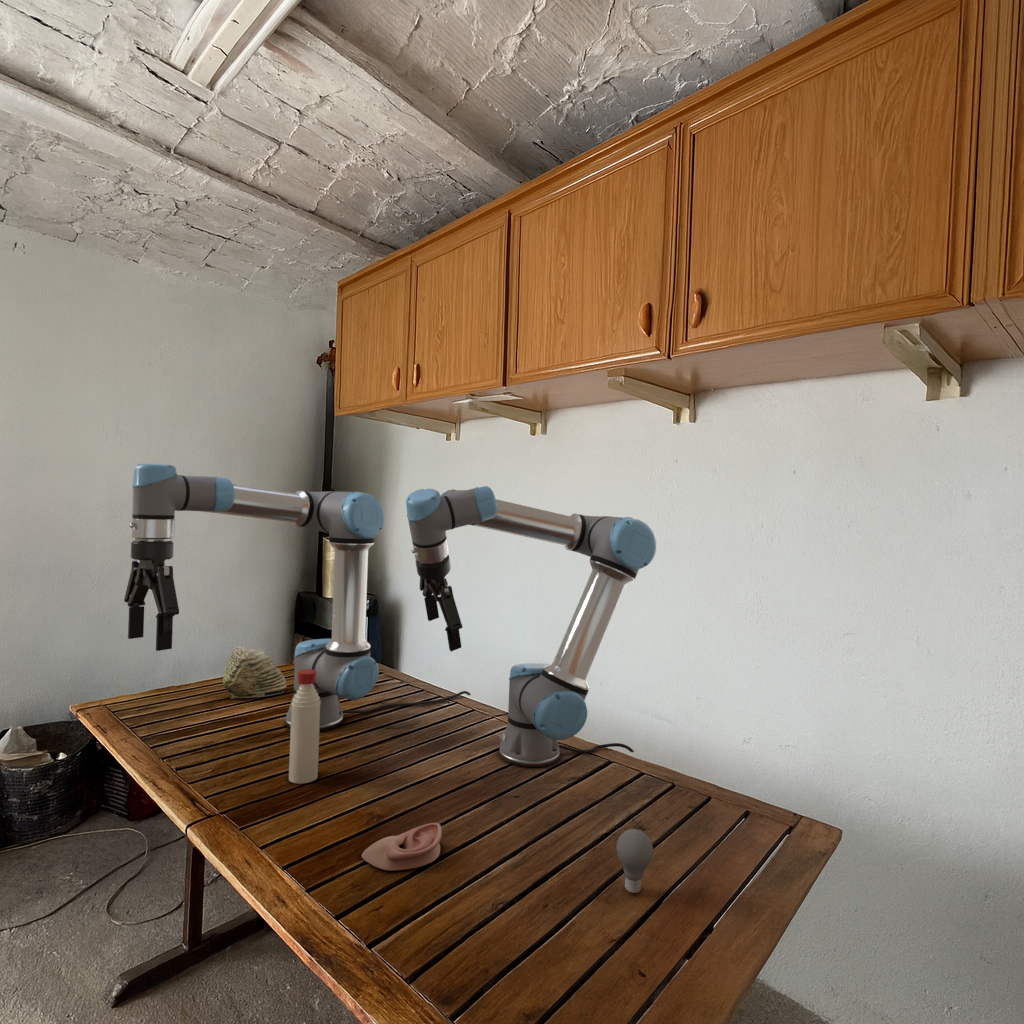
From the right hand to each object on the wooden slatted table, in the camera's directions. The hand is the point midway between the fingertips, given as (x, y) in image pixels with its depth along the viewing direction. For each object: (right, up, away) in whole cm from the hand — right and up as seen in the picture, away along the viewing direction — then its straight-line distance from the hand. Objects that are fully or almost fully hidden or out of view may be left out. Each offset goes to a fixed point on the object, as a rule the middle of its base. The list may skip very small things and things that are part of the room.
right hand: (444, 633), depth 150 cm
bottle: (-31, -31, -8) cm, 44 cm away
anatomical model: (-4, -33, -37) cm, 49 cm away
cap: (-30, -7, -8) cm, 32 cm away
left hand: (-58, +2, -21) cm, 62 cm away
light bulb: (+36, -35, -45) cm, 67 cm away
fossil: (-64, -28, +48) cm, 85 cm away
